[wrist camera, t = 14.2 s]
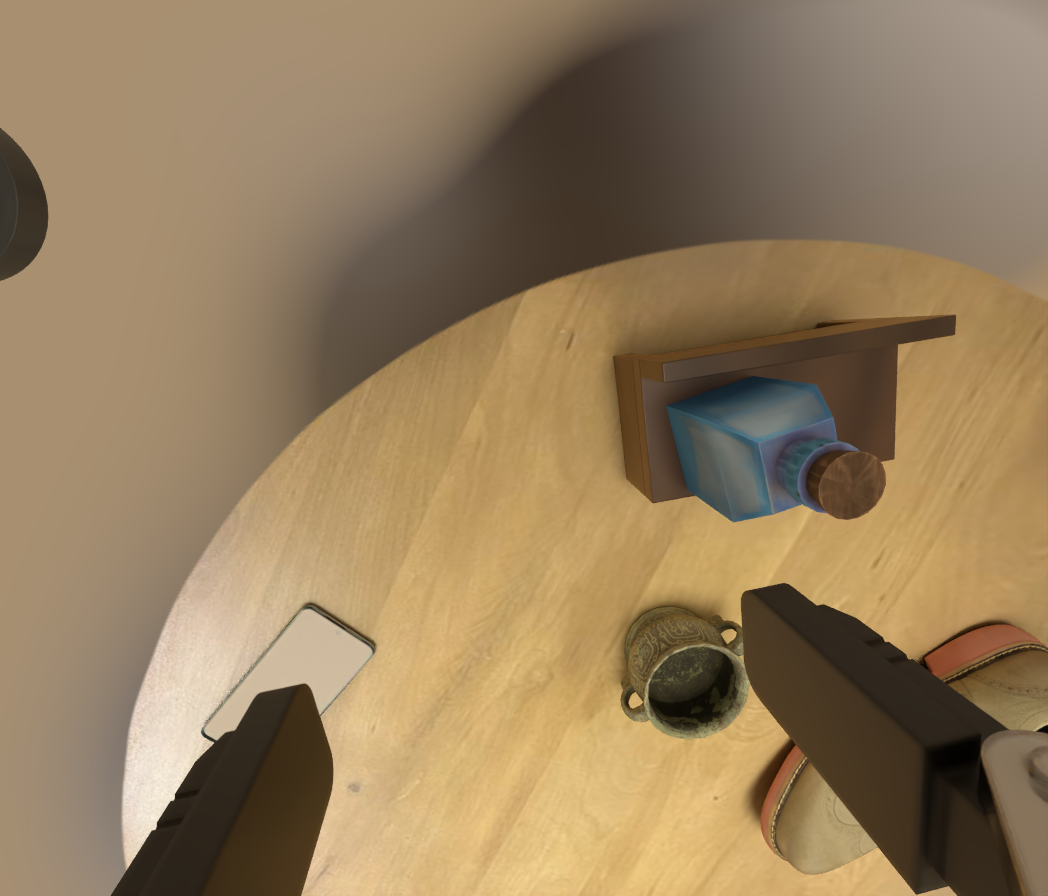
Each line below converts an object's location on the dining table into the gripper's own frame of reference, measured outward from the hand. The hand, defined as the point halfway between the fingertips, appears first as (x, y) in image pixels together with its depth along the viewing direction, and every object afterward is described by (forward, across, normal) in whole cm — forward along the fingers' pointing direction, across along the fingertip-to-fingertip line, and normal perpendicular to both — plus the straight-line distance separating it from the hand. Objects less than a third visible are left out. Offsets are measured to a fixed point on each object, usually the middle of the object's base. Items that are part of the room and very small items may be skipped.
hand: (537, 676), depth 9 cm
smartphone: (+30, +20, +20) cm, 41 cm away
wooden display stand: (+29, -20, +2) cm, 35 cm away
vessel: (+29, -12, +23) cm, 39 cm away
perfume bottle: (+23, -16, +3) cm, 28 cm away
